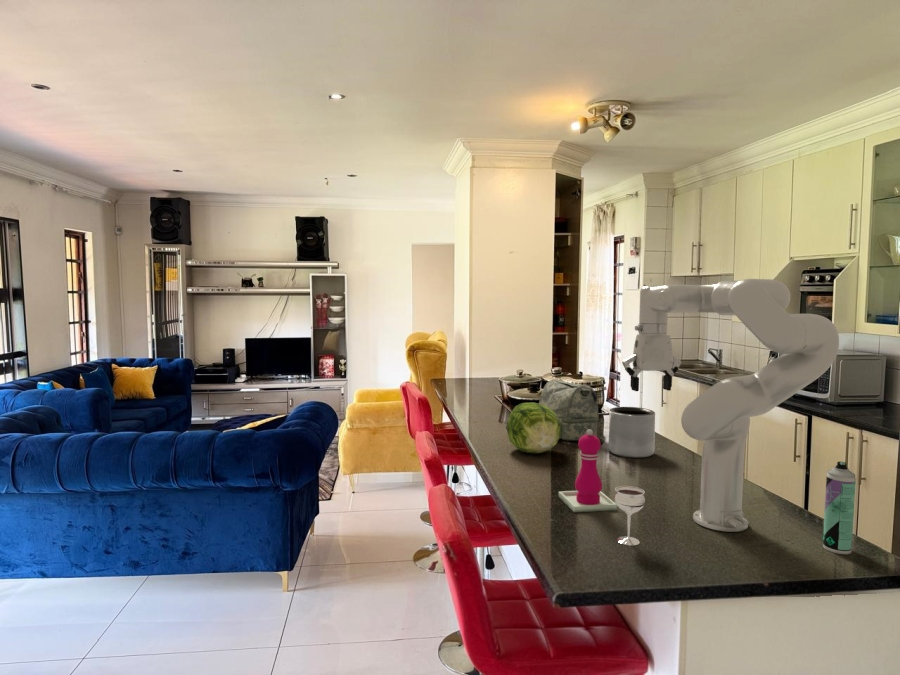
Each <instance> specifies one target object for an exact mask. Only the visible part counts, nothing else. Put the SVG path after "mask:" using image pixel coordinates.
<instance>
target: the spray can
mask: <svg viewBox="0 0 900 675" xmlns="http://www.w3.org/2000/svg"><path fill="white" fill-rule="evenodd" d="M826 472H827V473H826V479H825V480H826V481H825V498H824V500H825V501H824V513H823V514H824V516H823V518H824V519H823V535H822V536H823V537H822V548H824V549H825V550H827V551H828V552H831V553H833V554H834V553H835V554H840V555H849V554H852V551H853V536H854V533H853V532H854V518H855V515H854V514H855V501H856V497H855V496H856V481H857V478H856V473H854V472H852V471H850V469H849V468H848V466H847V462H846V461H841V460H840V461H837V463H836V465H835V466H834V467H833V468H832V469H827V471H826Z"/></svg>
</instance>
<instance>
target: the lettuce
mask: <svg viewBox="0 0 900 675" xmlns="http://www.w3.org/2000/svg"><path fill="white" fill-rule="evenodd" d="M506 425H507V427H506V431H507V432H506V433H507V436H508V439H509V441H510V443H511V444H512V445H513V446H514V447H515V448H516V449H518V451H519V452H522V453H526V454H527V453H528V454H544V453H545V452H547V451H550V450H552V449H553V448H554V447H555V446H556V445H557V444H558V441H559V440H560V436H561V424H560V422H559V419H558V417H557V416H556V414H555V412H554V411H553V410H551V409H550V408H548V407H547V406H545V405H542V404H539V402H538V403H537V402H534V401H533V402H522V403H519V404H518V405H515V406H514V408H513V409H512V410H511V412H510V413H509V416H508V420H507V424H506Z"/></svg>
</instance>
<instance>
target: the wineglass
mask: <svg viewBox="0 0 900 675" xmlns="http://www.w3.org/2000/svg"><path fill="white" fill-rule="evenodd" d="M614 490H615V492H616V493H615V494H614V502H615V503H616V505H617V508H618V509H619V510H621V511H622V512H624V513H625V514H626V516H627V522H626V523H627V536H619V537H618V538H617V540H616V541H617V542H618V543H620V544H622V545H625V546H637V545H639V544H640V541H639V539H638V538H635V537H633V536H630V533H631V532H630V531H631V518H632V515H633V514H636V513H638V512H639V511H640V510H642V509H643V508H644V506H645V502H646V499H645V496H644V495H645V493H646V492H645V490H644V489H643V488H641V487H637V486H631V485H620V486H616V487H614Z"/></svg>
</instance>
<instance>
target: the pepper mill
mask: <svg viewBox="0 0 900 675" xmlns="http://www.w3.org/2000/svg"><path fill="white" fill-rule="evenodd" d="M586 433H587V435H583V436H582V437H581V438H580V439H579V440H578V444H577V447H578V449H579V450H580V452H579V458H580V459H581V460H580V461H581V466H580V470H579V472H578V474H577V476H576V478H575V481H574V487H575V490H576V491H578V493H577V496H576V500H577V501H578V502H579V503H581V504H586V505H596V504H598V503H599V502H600V495H599V494H598V493H599V492H600V491H601V492H602V489H603V484H602V479H601V478H600V474H599V472H598V468H597V461H598V460H599V457H600V456H599V451H600V449H601V447H602V445H601V441H600V439H599V437H596V436H594V435H592V434H593V431H592V430H591V429H588V430H587V432H586Z"/></svg>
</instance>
